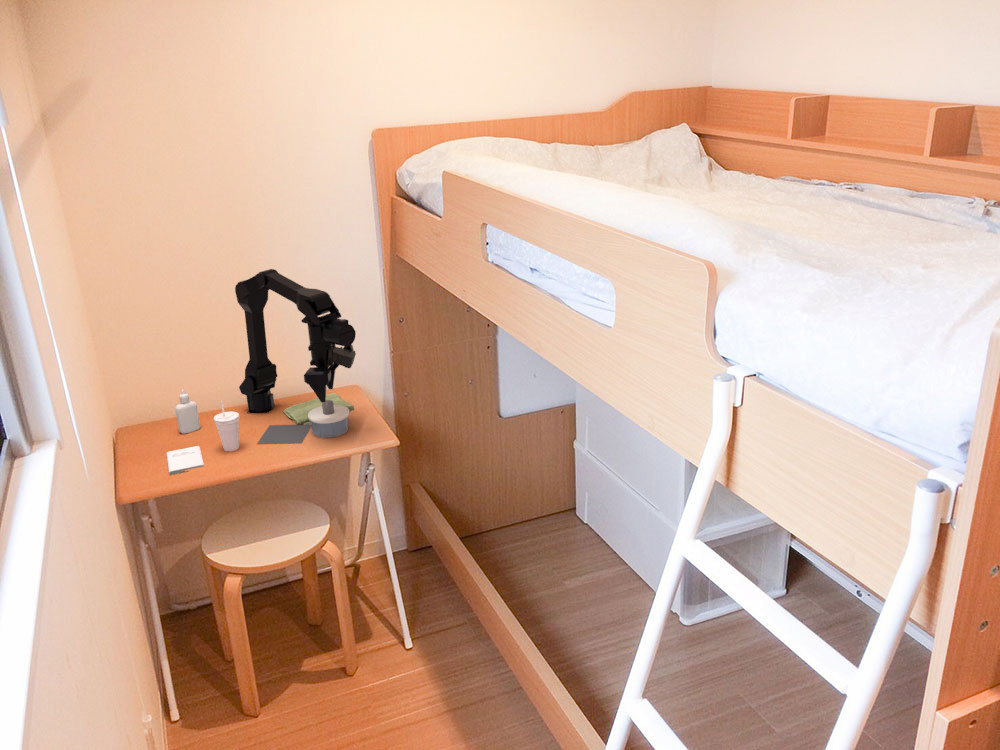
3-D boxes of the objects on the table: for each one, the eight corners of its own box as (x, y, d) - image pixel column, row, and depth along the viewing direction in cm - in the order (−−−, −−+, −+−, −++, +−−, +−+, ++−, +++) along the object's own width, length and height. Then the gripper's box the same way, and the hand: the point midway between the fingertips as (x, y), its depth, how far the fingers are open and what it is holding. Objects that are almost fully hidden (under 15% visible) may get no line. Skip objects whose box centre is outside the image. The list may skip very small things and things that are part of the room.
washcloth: (281, 415, 231) (279, 405, 230) (336, 400, 241) (335, 390, 239) (299, 430, 221) (298, 419, 220) (357, 413, 231) (356, 403, 230)
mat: (256, 446, 211) (256, 444, 211) (269, 427, 222) (269, 425, 222) (301, 445, 211) (301, 443, 211) (312, 426, 222) (312, 424, 222)
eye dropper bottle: (179, 428, 223) (172, 388, 219) (201, 425, 225) (194, 386, 220) (179, 434, 219) (171, 394, 215) (200, 431, 221) (193, 391, 216)
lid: (304, 424, 211) (302, 410, 210) (313, 407, 222) (311, 395, 220) (345, 423, 211) (344, 409, 210) (352, 406, 221) (351, 394, 220)
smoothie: (215, 449, 210) (206, 400, 205) (238, 442, 214) (230, 394, 209) (224, 457, 205) (216, 407, 200) (248, 450, 209) (240, 400, 204)
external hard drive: (170, 477, 197) (167, 457, 208) (204, 470, 200) (200, 450, 211) (168, 471, 197) (166, 451, 207) (203, 464, 200) (199, 444, 210)
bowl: (310, 439, 214) (308, 422, 212) (318, 425, 223) (316, 408, 221) (344, 438, 214) (342, 421, 212) (350, 424, 222) (349, 408, 221)
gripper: (344, 351, 200) (350, 408, 205) (357, 328, 217) (363, 382, 223) (300, 352, 200) (307, 409, 206) (317, 329, 217) (323, 383, 223)
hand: (327, 395), depth 214 cm, fingers open, 9 cm apart
